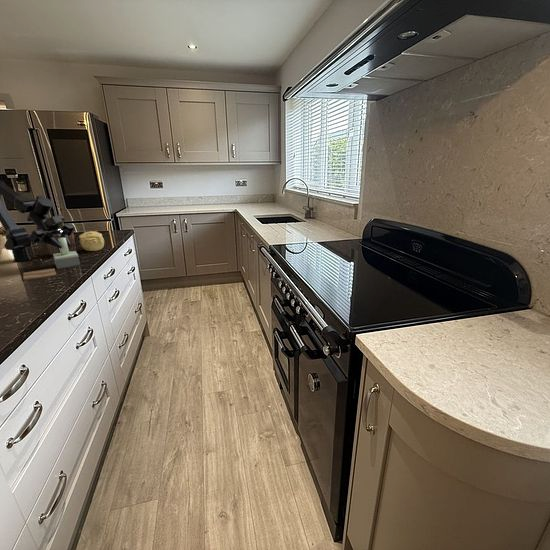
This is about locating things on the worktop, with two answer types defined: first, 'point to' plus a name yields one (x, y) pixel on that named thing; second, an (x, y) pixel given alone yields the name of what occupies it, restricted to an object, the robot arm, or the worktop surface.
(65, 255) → the lid
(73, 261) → the storage box
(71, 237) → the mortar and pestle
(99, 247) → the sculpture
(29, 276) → the walnut board
